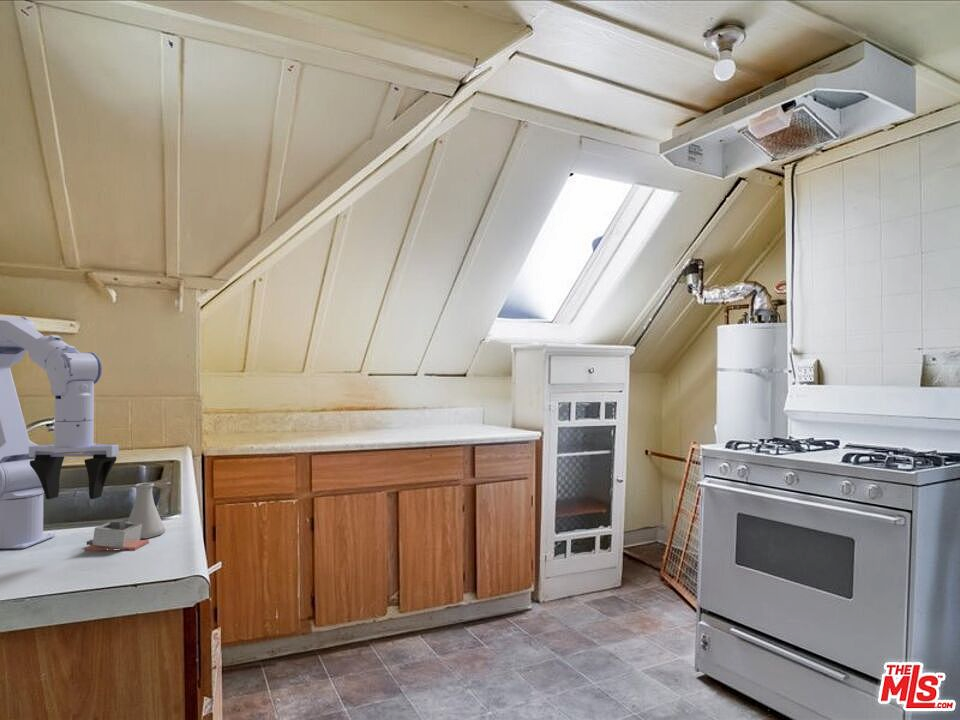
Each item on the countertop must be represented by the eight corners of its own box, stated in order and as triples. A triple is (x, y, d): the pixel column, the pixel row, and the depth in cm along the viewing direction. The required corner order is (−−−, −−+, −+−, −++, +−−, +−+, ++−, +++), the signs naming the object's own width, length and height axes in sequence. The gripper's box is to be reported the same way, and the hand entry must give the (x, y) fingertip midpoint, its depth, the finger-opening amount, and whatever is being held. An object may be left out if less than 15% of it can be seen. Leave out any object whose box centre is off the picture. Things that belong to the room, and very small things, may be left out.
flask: (172, 530, 117) (173, 481, 118) (148, 541, 110) (149, 488, 110) (139, 529, 118) (139, 480, 118) (113, 540, 111) (113, 487, 111)
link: (92, 544, 104) (94, 528, 104) (111, 536, 109) (113, 520, 109) (122, 548, 104) (124, 531, 104) (139, 539, 109) (142, 523, 109)
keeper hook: (80, 550, 104) (80, 524, 104) (96, 543, 109) (96, 517, 109) (135, 550, 104) (135, 523, 105) (149, 542, 109) (149, 517, 109)
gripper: (15, 422, 98) (14, 503, 98) (101, 422, 99) (100, 502, 98) (46, 419, 106) (45, 494, 105) (126, 418, 106) (125, 493, 105)
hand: (73, 497), depth 102 cm, fingers open, 7 cm apart
